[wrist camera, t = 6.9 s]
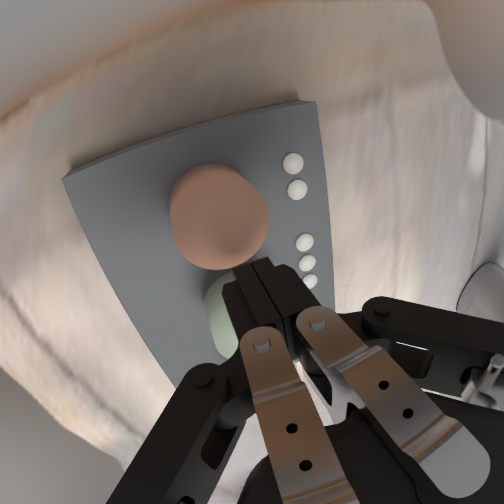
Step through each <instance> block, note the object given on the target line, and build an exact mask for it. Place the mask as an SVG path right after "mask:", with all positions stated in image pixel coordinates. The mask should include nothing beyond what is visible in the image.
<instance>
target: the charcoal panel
mask: <svg viewBox="0 0 504 504" xmlns="http://www.w3.org/2000/svg"><path fill="white" fill-rule="evenodd" d="M207 163H218V164H223V165H226V166H228V167H231V168H232V169H234V170H236V171H237V172H238V173H239V174H240V175H241V176H242V177H244V178H245V179H246V180H247V181H248V182H249V183H250V184H251V185H252V186H253V187H254V188H255V189H257V190H258V191H259V193H260V194H261V195H262V196H263V198H264V200H265V201H266V204H267V206H268V210H269V216H270V224H269V230H268V233H267V236H266V238H265V240H264V242H263V244H262V246H261V247H260V248H259V250H258V251H257V252H256V253H255V254H254V255H253V256H252V257H250V258H249V259H248V260H246V261H245V262H243V263H241V264H239V265H237V266H240V265H243V264H246V263H250V262H251V261H254V260H257V259H260V258H263V257H266V256H268V257H269V259H270V260H271V262H272V263H273V265H274V266H278V265H281V264H285V265H287V266H289V267H291V268H293V269H294V270H295V271H296V273H297V274H298V275H299V277H300V278H301V279H302V280H303V282H304V284H306V286H307V287H308V288H309V289H310V291H311V292H312V293H313V295H314V296H315V297H316V299H317V300H318V301H319V303H320V304H321V305H322V306H325V307H328V308H331V309H332V310H334V311H335V297H334V274H333V256H332V241H331V227H330V215H329V204H328V194H327V184H326V175H325V166H324V158H323V150H322V142H321V135H320V128H319V121H318V114H317V108H316V102H312V101H301V100H299V101H293V102H288V103H282V104H277V105H272V106H267V107H262V108H258V109H253V110H249V111H245V112H240V113H236V114H232V115H228V116H224V117H220V118H216V119H213V120H209V121H205V122H202V123H198V124H195V125H191V126H188V127H185V128H181V129H178V130H175V131H172V132H169V133H166V134H162V135H159V136H156V137H153V138H151V139H148V140H145V141H142V142H139V143H136V144H134V145H131V146H128V147H126V148H123V149H120V150H118V151H115V152H113V153H110V154H107V155H105V156H103V157H100V158H98V159H95V160H93V161H90V162H88V163H86V164H83V165H81V166H79V167H77V168H74V169H72V170H70V171H69V172H68V173H67V174H66V175H65V176H64V177H63V178H62V181H63V184H64V187H65V189H66V192H67V194H68V196H69V199H70V201H71V204H72V206H73V208H74V211H75V213H76V215H77V217H78V220H79V222H80V224H81V226H82V229H83V231H84V233H85V235H86V237H87V239H88V241H89V243H90V245H91V248H92V250H93V252H94V254H95V256H96V258H97V260H98V262H99V264H100V265H101V267H102V269H103V271H104V273H105V275H106V277H107V279H108V281H109V283H110V284H111V286H112V288H113V290H114V292H115V293H116V295H117V297H118V299H119V301H120V302H121V304H122V306H123V308H124V309H125V311H126V313H127V314H128V316H129V318H130V319H131V321H132V323H133V324H134V326H135V328H136V329H137V331H138V333H139V334H140V336H141V337H142V339H143V340H144V342H145V344H146V345H147V347H148V348H149V350H150V351H151V353H152V354H153V356H154V357H155V359H156V360H157V362H158V363H159V365H160V366H161V368H162V369H163V371H164V372H165V374H166V375H167V376H168V378H169V379H170V381H171V382H172V384H173V385H174V386H175V388H176V389H177V387H178V386H179V384H180V382H181V381H182V379H183V377H184V376H185V374H186V373H187V372H188V371H189V370H190V369H191V368H192V367H194V366H196V365H198V364H202V363H214V364H217V365H221V364H222V363H224V362H225V361H227V359H226V358H225V357H223V356H222V355H221V354H220V353H219V352H218V350H217V348H216V346H215V342H214V339H213V336H212V333H211V330H210V326H209V323H208V320H207V316H206V313H205V310H204V299H205V296H206V293H207V291H208V289H209V288H210V286H211V285H212V284H213V283H214V282H215V281H216V280H217V279H219V278H220V277H221V276H223V275H225V274H227V273H229V272H232V268H234V267H231V268H228V269H222V270H211V269H205V268H202V267H199V266H196V265H194V264H193V263H191V262H189V261H188V260H187V259H186V258H185V257H184V256H183V255H182V254H181V253H180V251H179V250H178V248H177V246H176V244H175V241H174V238H173V233H172V227H171V221H170V215H169V208H168V202H169V196H170V193H171V190H172V188H173V186H174V184H175V183H176V181H177V180H178V179H179V178H180V177H181V176H182V175H183V174H184V173H185V172H187V171H188V170H190V169H191V168H193V167H196V166H198V165H202V164H207ZM237 266H235V267H237ZM298 361H299V359H296V360H294V362H298Z"/></svg>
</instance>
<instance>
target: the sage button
mask: <svg viewBox="0 0 504 504" xmlns="http://www.w3.org/2000/svg"><path fill="white" fill-rule="evenodd" d="M232 281H235V279H234V275H233V272H229V273H227V274H225V275H223V276H221V277H220V278H219V279H217V280H216V281H215V282H214V283H213V284H212V285H211V286H210V288H209V289H208V291H207V293H206V296H205V299H204V310H205V313H206V316H207V320H208V323H209V326H210V330H211V333H212V336H213V339H214V342H215V346H216V348H217V350H218V352H219V353H220V354H221V355H222V356H223V357H225V358H227V359H229V358H230V357H231V356H232V355H233V354H234V353H235V351H236V349H237V347H238V339H237V337H236V334H235V331H234V329H233V326H232V323H231V321H230V318H229V315H228V312H227V309H226V306H225V303H224V300H223V297H222V294H221V293H222V289H223V285H224V284H226V283H229V282H232Z"/></svg>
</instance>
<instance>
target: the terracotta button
mask: <svg viewBox="0 0 504 504" xmlns="http://www.w3.org/2000/svg"><path fill="white" fill-rule="evenodd" d="M168 208H169V215H170V221H171V227H172V233H173V238H174V241H175V244H176V246H177V248H178V250H179V251H180V253H181V254H182V255H183V256H184V257H185V258H186V259H187V260H188V261H189V262H191V263H193V264H194V265H196V266H199V267H202V268H205V269H211V270H222V269H228V268H231V267H235V266H237V265H239V264H241V263H243V262H245V261H246V260H248V259H249V258H250V257H252V256H253V255H254V254H255V253H256V252H257V251H258V250H259V248H260V247H261V246H262V244H263V242H264V240H265V238H266V236H267V233H268V230H269V224H270V216H269V210H268V206H267V204H266V201H265V200H264V198H263V196H262V195H261V194H260V193H259V191H258V190H257V189H255V188H254V187H253V186H252V185H251V184H250V183H249V182H248V181H247V180H246V179H245V178H244V177H242V176H241V175H240V174H239V173H238V172H237V171H236V170H234V169H232V168H231V167H228V166H226V165H223V164H218V163H207V164H202V165H198V166H196V167H193V168H191V169H190V170H188V171H187V172H185V173H184V174H183V175H182V176H181V177H180V178H179V179H178V180H177V181H176V183H175V184H174V186H173V188H172V190H171V193H170V196H169V202H168Z"/></svg>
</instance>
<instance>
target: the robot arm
mask: <svg viewBox="0 0 504 504" xmlns="http://www.w3.org/2000/svg"><path fill="white" fill-rule="evenodd" d="M232 272H233V275H234V279H235V281H232V282H229V283H226V284H224V285H223V289H222V293H221V294H222V297H223V300H224V303H225V306H226V309H227V312H228V315H229V318H230V321H231V323H232V326H233V329H234V331H235V334H236V337H237V339H238V347H237V349H236V351H235V353H234V354H233V355H232V356H231V357H230V358H229V359H228V360H227V361H225V362H224V363H222V364H221V365H217V364H214V363H202V364H198V365H196V366H194V367H192V368H191V369H190V370H189V371H188V372H187V373H186V374H185V376H184V377H183V379H182V381H181V382H180V384H179V386H178V387H177V389H176V390H175V392H174V394H173V395H172V397H171V399H170V400H169V402H168V404H167V405H166V407H165V408H164V410H163V412H162V413H161V415H160V417H159V418H158V420H157V422H156V423H155V425H154V426H153V428H152V430H151V431H150V433H149V435H148V436H147V438H146V439H145V441H144V443H143V444H142V446H141V448H140V449H139V451H138V452H137V454H136V456H135V457H134V459H133V461H132V462H131V464H130V465H129V467H128V469H127V470H126V472H125V473H124V475H123V477H122V478H121V480H120V482H119V483H118V485H117V486H116V488H115V490H114V491H113V493H112V494H111V496H110V498H109V499H108V501H107V502H106V504H207V503H208V501H209V499H210V497H211V495H212V493H213V491H214V489H215V487H216V485H217V483H218V481H219V479H220V477H221V475H222V473H223V471H224V469H225V467H226V465H227V463H228V460H229V458H230V456H231V454H232V452H233V450H234V448H235V446H236V443H237V441H238V439H239V437H240V435H241V433H242V430H243V428H244V426H245V423H246V419H248V418H249V417H251V416H252V415H253V414H255V413H256V414H257V418H258V421H259V425H260V428H261V431H262V435H263V438H264V442H265V445H266V448H267V452H268V455H267V456H266V457H264V458H263V459H262V460H261V461H260V462H259V463H258V464H257V465H256V466H255V468H254V469H253V470H252V471H251V473H250V475H249V477H248V478H247V481H246V483H245V485H244V488H243V490H242V493H241V495H240V497H239V500H238V502H237V504H504V268H503V267H502V266H500V265H499V264H497V263H495V264H492V263H486V264H484V265H483V266H482V267H481V268H480V269H478V271H477V272H476V273H475V274H474V275H473V277H472V278H471V279H470V281H469V282H468V284H467V285H466V287H465V289H464V291H463V293H462V295H461V297H460V300H459V302H458V306H457V312H452V311H447V310H443V309H438V308H434V307H429V306H425V305H420V304H416V303H412V302H407V301H403V300H398V299H394V298H390V297H384V296H380V297H374V298H371V299H369V300H368V301H366V302H365V303H364V305H363V307H362V311H359V312H353V313H346V314H338V313H336V312H335V311H334V310H332V309H331V308H328V307H325V306H322V305H321V304H320V303H319V301H318V300H317V299H316V297H315V296H314V295H313V293H312V292H311V291H310V289H309V288H308V287H307V286H306V284H304V282H303V280H302V279H301V278H300V277H299V275H298V274H297V273H296V271H295V270H294V269H293V268H291V267H289V266H287V265H285V264H281V265H278V266H274V265H273V263H272V262H271V260H270V259H269V257H268V256H266V257H263V258H260V259H257V260H254V261H251V262H250V263H246V264H243V265H240V266H237V267H234V268H232ZM396 341H397V342H400V343H404V344H408V345H412V346H416V347H420V348H424V349H428V350H423V349H419V348H415V347H411V346H407V345H403V344H399V343H396ZM296 359H299V361H300V363H301V364H302V368H303V374H304V376H305V378H306V379H307V381H308V382H309V383H310V385H311V386H312V388H313V389H314V391H315V392H316V394H317V395H318V397H319V398H320V400H321V401H322V403H323V404H324V406H325V407H326V408H327V410H328V412H329V414H330V416H331V419H332V421H333V424H334V425H329V426H324V425H323V423H322V421H321V418H320V416H319V414H318V411H317V409H316V407H315V405H314V402H313V400H312V398H311V395H310V393H309V391H308V388H307V386H306V384H305V383H304V382H302V381H301V379H300V377H299V375H298V372H297V370H296V368H295V365H294V363H293V361H294V360H296ZM421 388H423V389H427V390H431V391H435V392H439V393H443V394H448V395H452V396H457V397H461V398H462V399H463V401H464V402H463V401H459V400H455V399H451V398H448V397H444V396H441V395H437V394H434V393H430V392H424V391H423V390H422V389H421Z"/></svg>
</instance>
